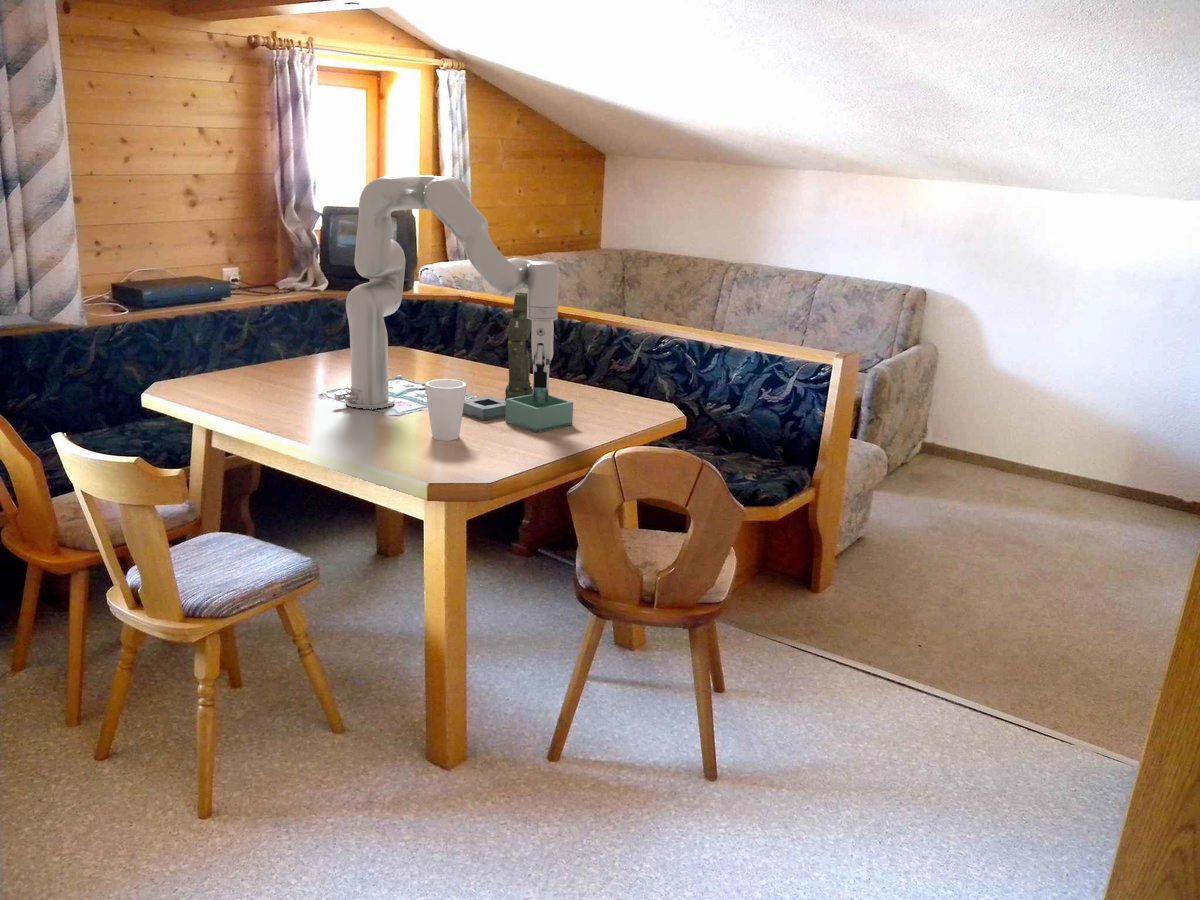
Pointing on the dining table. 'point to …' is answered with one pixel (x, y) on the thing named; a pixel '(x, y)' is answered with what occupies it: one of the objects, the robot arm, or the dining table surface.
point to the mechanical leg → (519, 350)
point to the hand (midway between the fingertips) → (540, 384)
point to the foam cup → (445, 407)
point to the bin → (539, 413)
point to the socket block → (485, 408)
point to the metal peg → (541, 393)
